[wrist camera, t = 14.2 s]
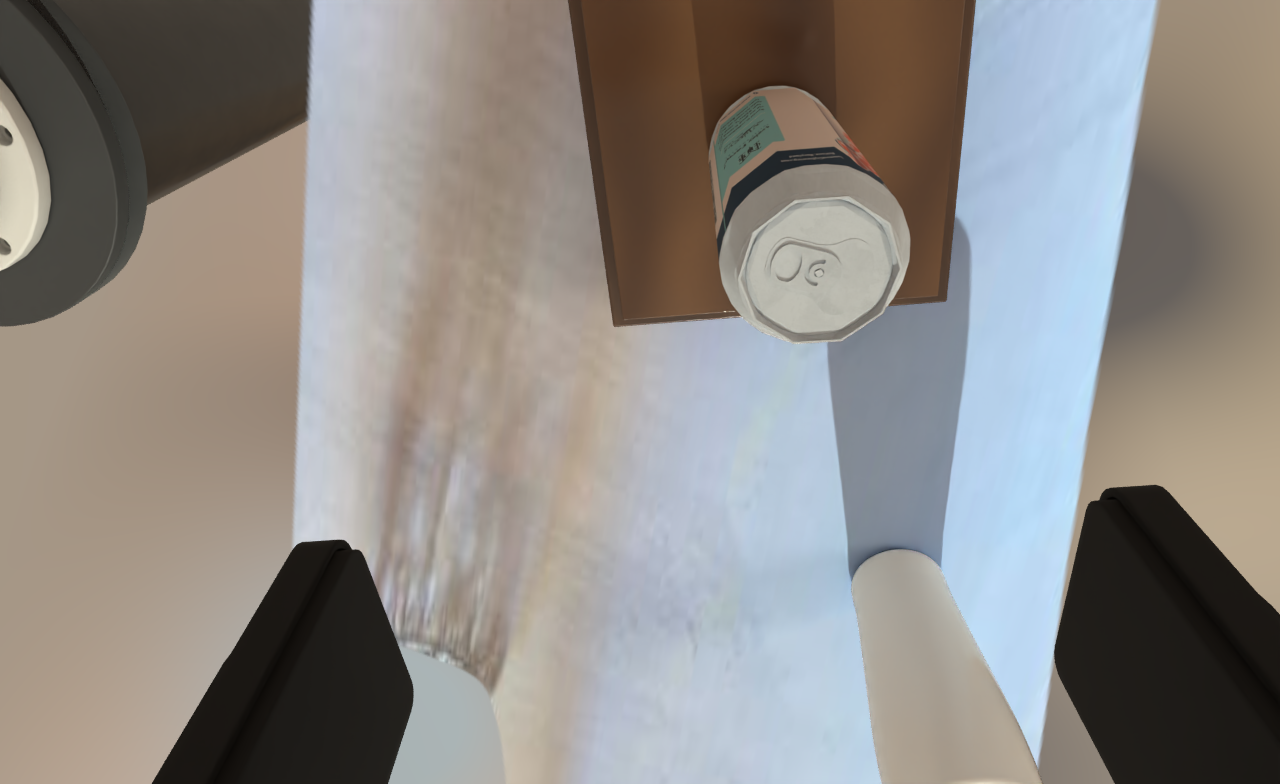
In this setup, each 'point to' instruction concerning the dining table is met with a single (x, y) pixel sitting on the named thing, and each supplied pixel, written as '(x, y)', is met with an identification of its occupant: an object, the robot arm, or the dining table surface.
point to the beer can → (802, 220)
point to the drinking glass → (931, 682)
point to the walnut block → (719, 76)
